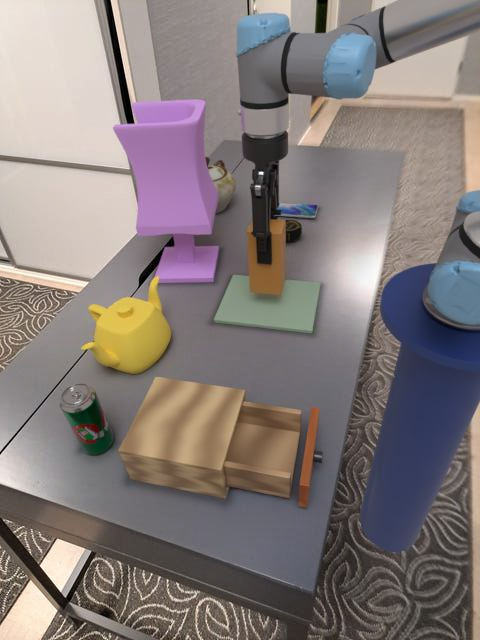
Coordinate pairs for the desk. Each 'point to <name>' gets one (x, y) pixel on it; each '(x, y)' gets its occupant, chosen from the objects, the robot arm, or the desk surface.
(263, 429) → the drawer
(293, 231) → the tape measure
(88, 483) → the desk surface
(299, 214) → the smartphone
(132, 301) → the teapot
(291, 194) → the desk surface
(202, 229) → the vase
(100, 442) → the soda can
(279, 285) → the orange rectangular block
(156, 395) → the cabinet
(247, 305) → the mat
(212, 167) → the sugar bowl
